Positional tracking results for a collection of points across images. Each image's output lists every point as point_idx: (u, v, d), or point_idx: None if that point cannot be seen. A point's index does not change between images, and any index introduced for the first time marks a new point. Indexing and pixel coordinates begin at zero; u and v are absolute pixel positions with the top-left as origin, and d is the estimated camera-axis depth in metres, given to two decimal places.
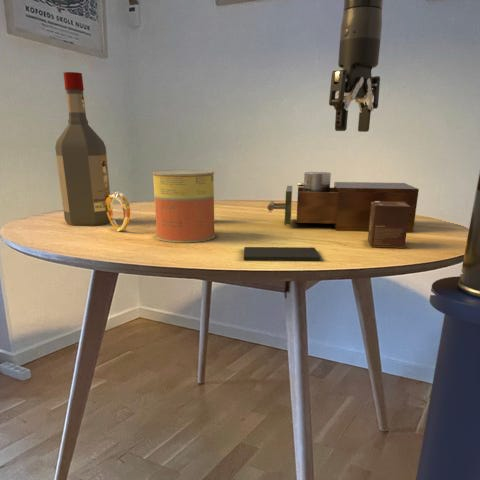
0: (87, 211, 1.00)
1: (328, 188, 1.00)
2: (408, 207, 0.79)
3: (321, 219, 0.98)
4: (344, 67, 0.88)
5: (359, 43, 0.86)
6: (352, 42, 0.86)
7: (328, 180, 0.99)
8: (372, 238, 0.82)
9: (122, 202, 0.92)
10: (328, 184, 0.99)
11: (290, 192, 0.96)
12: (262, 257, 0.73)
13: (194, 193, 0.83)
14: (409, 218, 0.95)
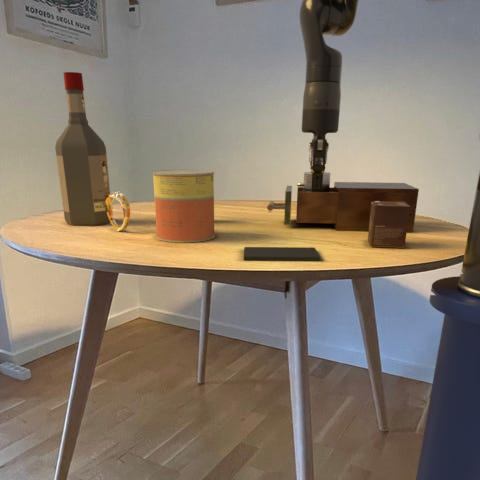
0: (87, 211, 1.00)
1: (328, 188, 1.00)
2: (408, 207, 0.79)
3: (321, 219, 0.98)
4: (317, 134, 0.94)
5: (331, 114, 0.93)
6: (325, 112, 0.93)
7: (328, 180, 0.99)
8: (372, 238, 0.82)
9: (122, 202, 0.92)
10: (328, 184, 0.99)
11: (290, 192, 0.96)
12: (262, 257, 0.73)
13: (194, 193, 0.83)
14: (409, 218, 0.95)
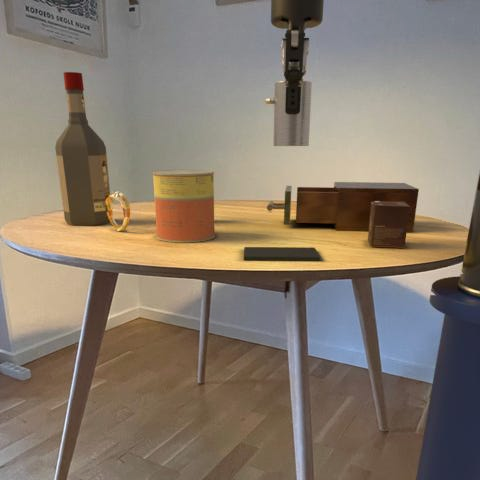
0: (87, 211, 1.00)
1: (308, 104, 0.71)
2: (408, 207, 0.79)
3: (320, 219, 0.98)
4: (292, 21, 0.65)
5: None
6: None
7: (308, 92, 0.70)
8: (372, 238, 0.82)
9: (122, 202, 0.92)
10: (308, 98, 0.70)
11: (289, 192, 0.96)
12: (262, 257, 0.73)
13: (194, 193, 0.83)
14: (409, 218, 0.95)
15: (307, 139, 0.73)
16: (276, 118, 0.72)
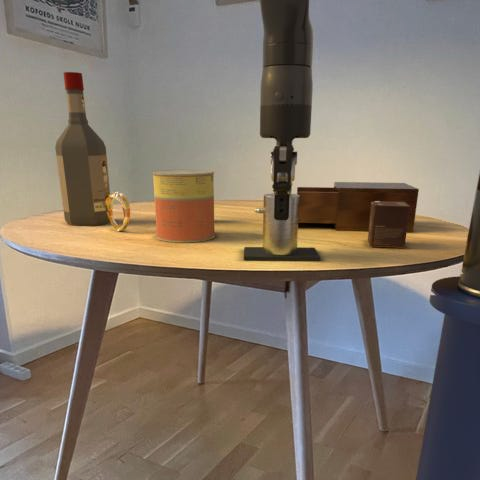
0: (87, 211, 1.00)
1: (296, 216, 0.73)
2: (408, 207, 0.79)
3: (320, 219, 0.98)
4: (280, 140, 0.67)
5: (298, 111, 0.66)
6: (290, 109, 0.65)
7: (296, 206, 0.72)
8: (372, 238, 0.82)
9: (122, 202, 0.92)
10: (296, 212, 0.72)
11: None
12: (262, 257, 0.73)
13: (194, 193, 0.83)
14: (409, 218, 0.95)
15: (295, 248, 0.75)
16: (265, 229, 0.74)
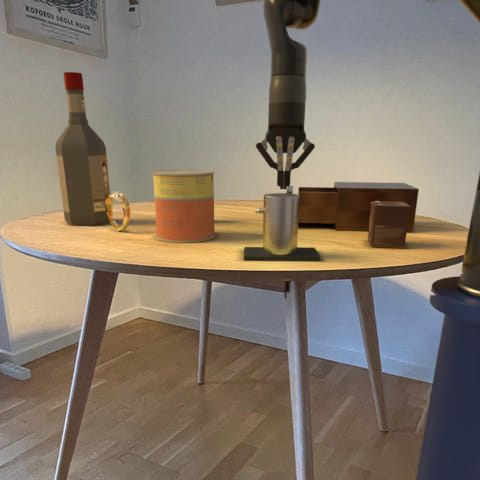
0: (87, 211, 1.00)
1: (296, 216, 0.73)
2: (408, 207, 0.79)
3: (322, 219, 0.98)
4: None
5: (270, 107, 0.95)
6: None
7: (296, 206, 0.72)
8: (372, 238, 0.82)
9: (122, 202, 0.92)
10: (296, 212, 0.72)
11: (291, 192, 0.96)
12: (262, 257, 0.73)
13: (194, 193, 0.83)
14: (409, 218, 0.95)
15: (295, 248, 0.75)
16: (265, 229, 0.74)
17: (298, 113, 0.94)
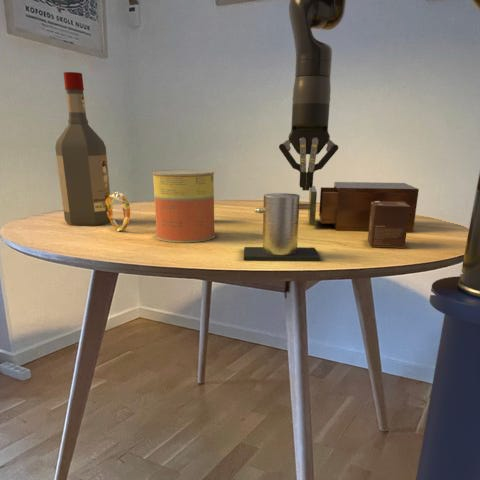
0: (87, 211, 1.00)
1: (296, 216, 0.73)
2: (408, 207, 0.79)
3: None
4: None
5: (294, 108, 0.94)
6: (292, 107, 0.95)
7: (296, 206, 0.72)
8: (372, 238, 0.82)
9: (122, 202, 0.92)
10: (296, 212, 0.72)
11: (315, 192, 0.96)
12: (262, 257, 0.73)
13: (194, 193, 0.83)
14: (409, 218, 0.95)
15: (295, 248, 0.75)
16: (265, 229, 0.74)
17: (323, 114, 0.93)
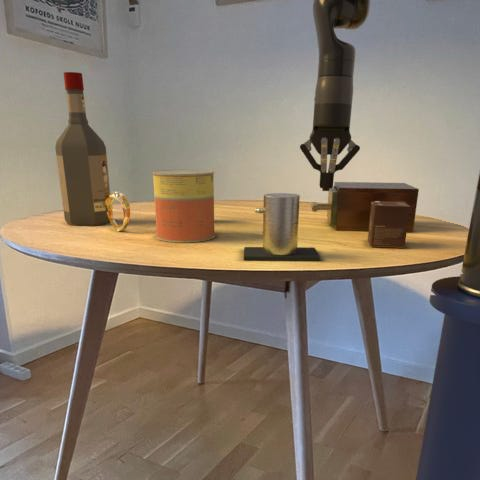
0: (87, 211, 1.00)
1: (296, 216, 0.73)
2: (408, 207, 0.79)
3: None
4: None
5: (317, 108, 0.94)
6: (314, 107, 0.95)
7: (296, 206, 0.72)
8: (372, 238, 0.82)
9: (122, 202, 0.92)
10: (296, 212, 0.72)
11: (337, 193, 0.95)
12: (262, 257, 0.73)
13: (194, 193, 0.83)
14: (409, 218, 0.95)
15: (295, 248, 0.75)
16: (265, 229, 0.74)
17: (345, 114, 0.93)
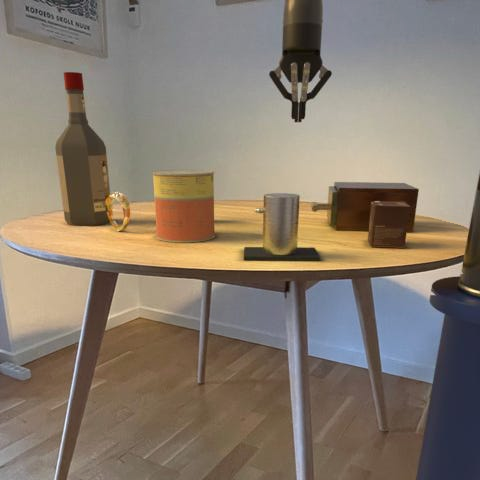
0: (87, 211, 1.00)
1: (296, 216, 0.73)
2: (408, 207, 0.79)
3: None
4: None
5: (285, 31, 0.89)
6: (283, 31, 0.90)
7: (296, 206, 0.72)
8: (372, 238, 0.82)
9: (122, 202, 0.92)
10: (296, 212, 0.72)
11: (337, 193, 0.95)
12: (262, 257, 0.73)
13: (194, 193, 0.83)
14: (409, 218, 0.95)
15: (295, 248, 0.75)
16: (265, 229, 0.74)
17: (314, 35, 0.88)
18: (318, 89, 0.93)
